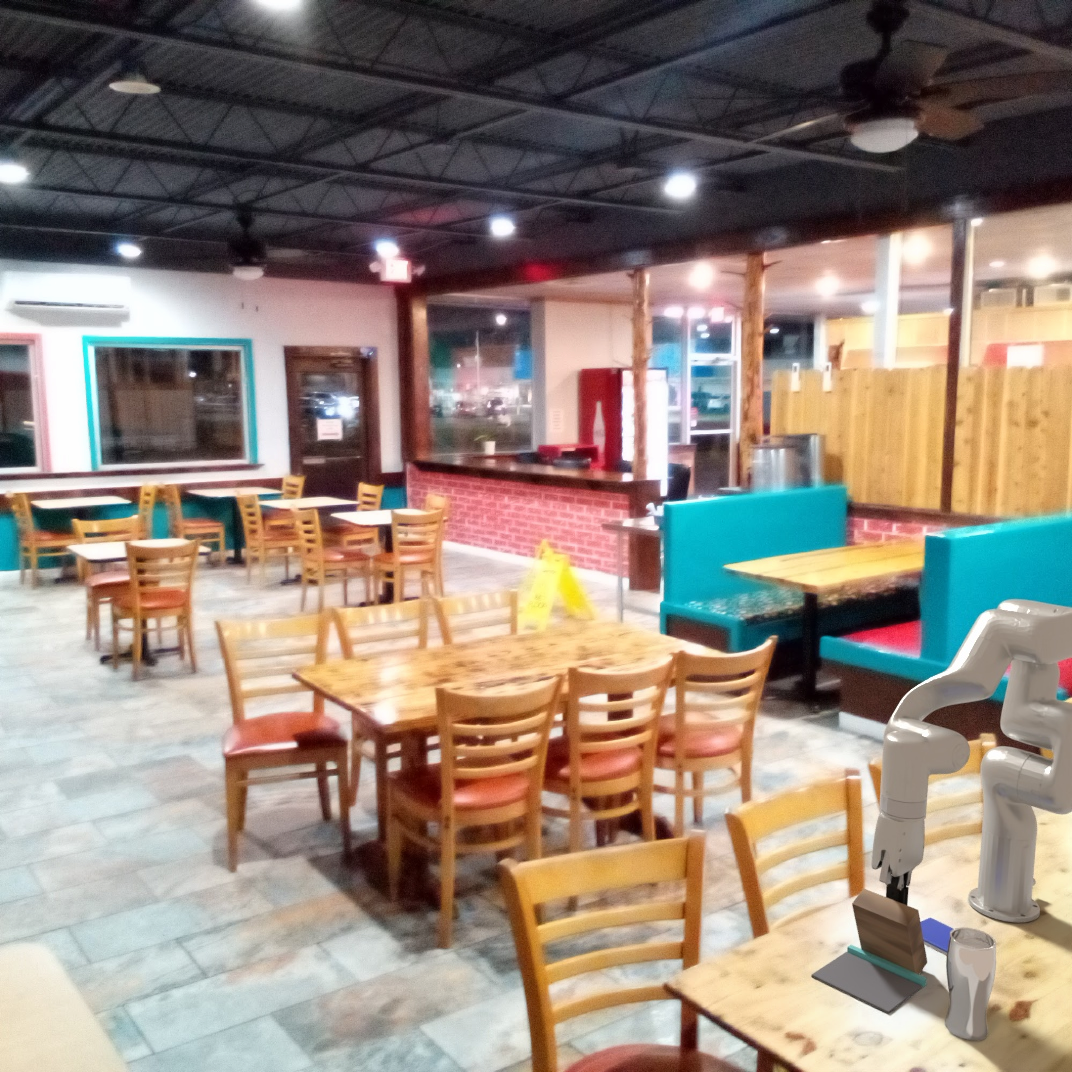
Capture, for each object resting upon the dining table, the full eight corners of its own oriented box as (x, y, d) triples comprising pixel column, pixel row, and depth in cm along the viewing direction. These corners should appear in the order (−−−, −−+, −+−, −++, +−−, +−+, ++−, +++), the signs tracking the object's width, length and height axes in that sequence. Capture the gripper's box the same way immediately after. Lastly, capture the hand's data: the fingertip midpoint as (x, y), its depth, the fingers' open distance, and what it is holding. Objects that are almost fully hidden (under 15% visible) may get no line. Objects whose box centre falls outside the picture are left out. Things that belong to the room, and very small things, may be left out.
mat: (846, 953, 178) (846, 951, 178) (921, 988, 167) (922, 985, 167) (811, 976, 170) (811, 974, 170) (888, 1013, 160) (888, 1011, 160)
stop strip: (850, 950, 179) (851, 944, 179) (926, 984, 168) (926, 978, 168) (847, 953, 178) (847, 946, 178) (922, 987, 168) (923, 980, 168)
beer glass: (967, 1047, 152) (973, 953, 150) (932, 1021, 158) (938, 931, 156) (1000, 1036, 155) (1008, 944, 153) (965, 1011, 161) (971, 923, 159)
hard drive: (904, 928, 185) (965, 959, 175) (931, 916, 189) (992, 945, 179) (903, 936, 185) (965, 968, 175) (930, 924, 190) (992, 954, 179)
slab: (873, 939, 180) (863, 888, 175) (927, 962, 173) (918, 909, 168) (862, 954, 178) (851, 903, 173) (916, 978, 170) (906, 925, 166)
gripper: (904, 788, 179) (897, 886, 181) (859, 809, 169) (853, 913, 171) (944, 801, 174) (937, 902, 176) (901, 823, 164) (894, 930, 166)
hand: (896, 907), depth 174 cm, fingers closed
